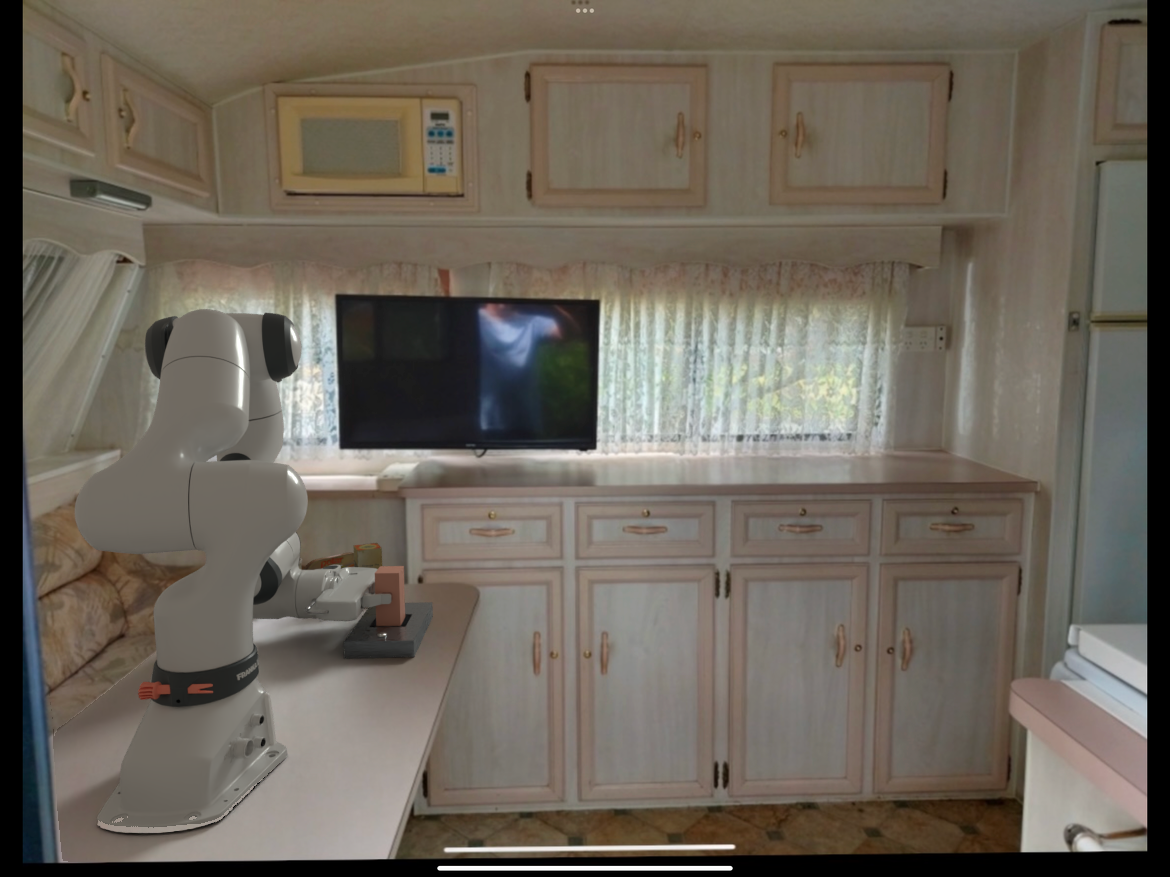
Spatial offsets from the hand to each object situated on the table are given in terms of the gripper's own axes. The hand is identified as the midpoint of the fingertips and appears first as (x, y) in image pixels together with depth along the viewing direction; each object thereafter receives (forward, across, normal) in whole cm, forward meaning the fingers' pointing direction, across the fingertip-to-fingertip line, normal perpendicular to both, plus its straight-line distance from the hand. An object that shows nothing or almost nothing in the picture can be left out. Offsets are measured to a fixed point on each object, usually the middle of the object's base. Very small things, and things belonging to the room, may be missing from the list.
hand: (395, 592), depth 138 cm
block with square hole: (-1, 0, +8) cm, 8 cm away
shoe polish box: (-10, +20, +9) cm, 24 cm away
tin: (-19, +27, +9) cm, 34 cm away
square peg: (-1, 0, +6) cm, 6 cm away
